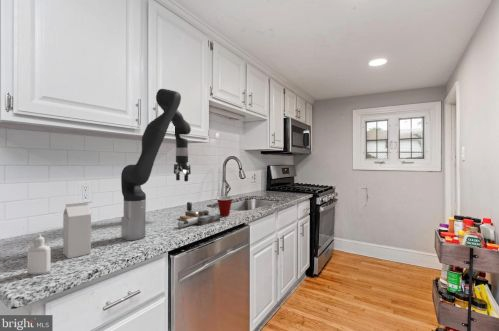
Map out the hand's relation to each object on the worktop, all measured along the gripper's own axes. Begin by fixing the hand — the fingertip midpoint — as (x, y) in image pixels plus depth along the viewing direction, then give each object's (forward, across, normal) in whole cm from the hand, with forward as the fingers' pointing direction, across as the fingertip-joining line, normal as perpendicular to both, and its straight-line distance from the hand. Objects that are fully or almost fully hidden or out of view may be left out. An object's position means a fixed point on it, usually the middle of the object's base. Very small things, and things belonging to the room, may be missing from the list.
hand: (182, 180), depth 160 cm
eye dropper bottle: (+21, +34, -78) cm, 88 cm away
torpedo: (+22, +22, -10) cm, 33 cm away
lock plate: (+23, +16, +1) cm, 28 cm away
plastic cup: (+23, +17, +21) cm, 36 cm away
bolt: (+20, +9, +1) cm, 23 cm away
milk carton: (+22, +25, -65) cm, 73 cm away
